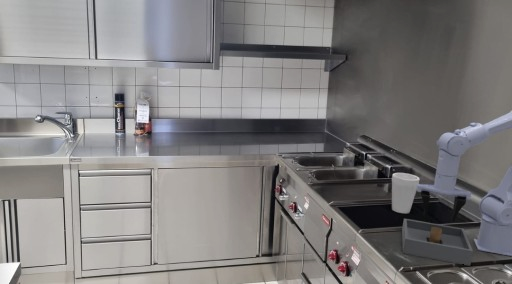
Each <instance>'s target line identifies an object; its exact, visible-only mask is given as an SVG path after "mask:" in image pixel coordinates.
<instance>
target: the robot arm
mask: <svg viewBox="0 0 512 284" xmlns="http://www.w3.org/2000/svg"><path fill="white" fill-rule="evenodd" d="M510 129H512V110H510V111H509V112H508V113H505V114H503V115H501V116H499V117H497V118H495V119H493V120H491V121H489V122H486V123H483V124H482V123H480V122H470V123H469V126H466V127H463V128H461V129H455V130H454V132H445V133H443V134H441V136H440V137H439V139H438V140H436V146H437V148H438V158H437V159H438V160H437V166H436V170H435V176H434V181H433V182H434V183H433V184H424V183H419V184H418V187H417V190H416V193H417V192H418V193H420V196H421V198H422V203H423V216H424V217H426V218H427V217H428V211H429V204H430V199H431V194H436V195H442V196H447V197H454V201H453V208H452V211H451V217H450V220H451V221H452V222H455V221H456V218H457V216H458V214H459V212H460V211H461V209H462V208H463V207H464V206H465V205H466V203H467V200H471V197H472V196H471V195H472V192H471V191H469V190H465V189H459V188H456V183H457V178H458V173H459V167H460V162H461V156H462V155H464V154H465V153H466V152H467V150H468V149H469V148H472V147H474V146H476V145H479V144H482V143H485V142H487V141H488V138H489V136H492V135H495V134H497V133H500V132H503V131H504V132H505V131H507V130H510ZM478 209H479V210H480V212H481V221H480V226H479V231H478V237H477V239H476V238H473V242H474V244H475V247H476V248H477V250H478V251H482V252H486V253H487V252H488V253H494V254H499V255H505V256H510V257H512V163H511V164H510V166H509V167H508V169H507V171H506V173H505V174H504V176H503V178H502V179H501V181H500V183H499V184H498V186H497V187H495V188H492V189H490V190H488V192H487V194H485V196H484V197H482V198H481V199H480V200H479V204H478Z"/></svg>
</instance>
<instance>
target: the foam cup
mask: <svg viewBox="0 0 512 284" xmlns="http://www.w3.org/2000/svg"><path fill="white" fill-rule="evenodd" d="M418 184H420V177H419V176H417V175H414V174H411V173H405V172H395V173H392V175H391V210H392V211H394V212H396V213H399V214H410V212H411V209H412V205H413V203H414V198H415V196H416V193H417V187H418Z"/></svg>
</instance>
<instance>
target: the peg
mask: <svg viewBox="0 0 512 284" xmlns="http://www.w3.org/2000/svg"><path fill="white" fill-rule="evenodd" d="M441 233H442V229H441V228H438V227H431V233H430V239H429V242H432V243H437V244H440V239H441Z"/></svg>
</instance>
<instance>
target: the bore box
mask: <svg viewBox="0 0 512 284" xmlns="http://www.w3.org/2000/svg"><path fill="white" fill-rule="evenodd" d="M431 227H438V228H441V229H442V233H441V239H440V244H437V243H432V242H429V239H430V233H431ZM401 239H402V240H401V241H402V242H401V243H402V254H407V255H411V256H416V257H421V258H427V259H432V260H437V261H442V262H448V263H452V264H457V263H458V265H462V264H464V266H469V267H470V266H471V263H472V259H473V253H474V250H473V247H472V245H471V243H470V240H469V238H468V236H467V232H466V231H465V229H464V228H463V227H462V228H460V227H457V226H456V227H455V226H449V225H442V224H438V223H431V222H426V221H421V220H416V219H409V218H403V223H402V228H401Z"/></svg>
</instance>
